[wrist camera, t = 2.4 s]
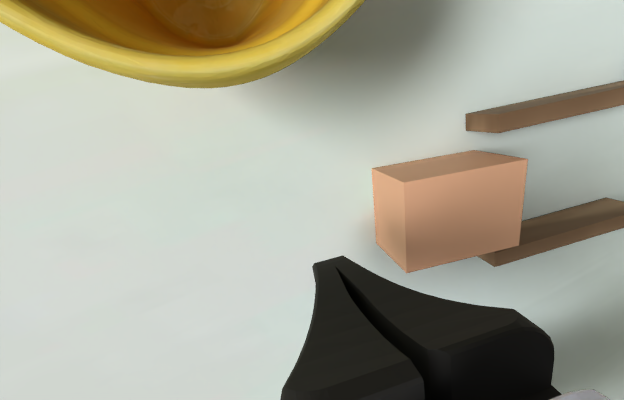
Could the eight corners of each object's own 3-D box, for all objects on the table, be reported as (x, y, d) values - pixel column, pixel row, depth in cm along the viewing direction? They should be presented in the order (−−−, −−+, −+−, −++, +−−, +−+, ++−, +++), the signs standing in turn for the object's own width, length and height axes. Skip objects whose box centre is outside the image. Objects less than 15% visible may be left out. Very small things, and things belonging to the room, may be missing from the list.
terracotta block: (468, 221, 21) (518, 245, 17) (375, 242, 19) (406, 273, 16) (472, 149, 19) (527, 159, 15) (370, 167, 18) (404, 182, 14)
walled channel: (604, 209, 23) (645, 221, 20) (466, 249, 21) (494, 266, 19) (623, 80, 20) (674, 76, 17) (465, 113, 18) (498, 114, 16)
